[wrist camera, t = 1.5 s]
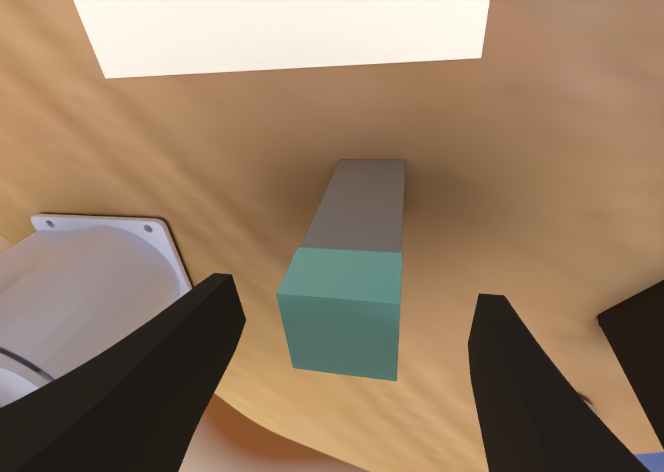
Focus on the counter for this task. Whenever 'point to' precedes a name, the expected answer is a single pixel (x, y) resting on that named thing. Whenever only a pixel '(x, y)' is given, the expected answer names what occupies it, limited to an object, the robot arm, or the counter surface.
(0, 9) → the counter surface
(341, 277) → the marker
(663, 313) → the ink cartridge
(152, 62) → the paper sheet
